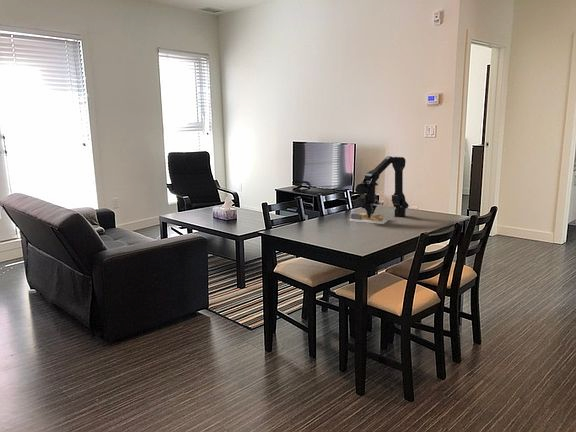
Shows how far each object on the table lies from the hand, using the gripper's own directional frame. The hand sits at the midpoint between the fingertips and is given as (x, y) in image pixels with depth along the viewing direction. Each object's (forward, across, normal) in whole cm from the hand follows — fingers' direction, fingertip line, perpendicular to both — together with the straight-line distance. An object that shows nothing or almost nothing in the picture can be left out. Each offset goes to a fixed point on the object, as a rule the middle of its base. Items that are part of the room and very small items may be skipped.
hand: (370, 217), depth 294 cm
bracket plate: (+3, 0, -1) cm, 3 cm away
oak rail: (+1, 0, -1) cm, 2 cm away
